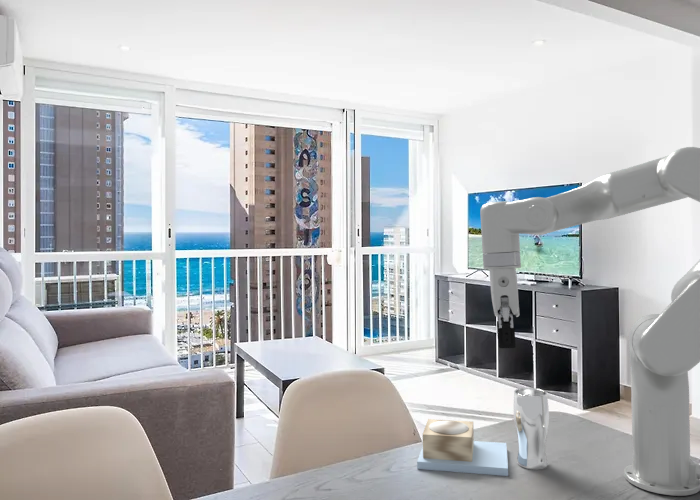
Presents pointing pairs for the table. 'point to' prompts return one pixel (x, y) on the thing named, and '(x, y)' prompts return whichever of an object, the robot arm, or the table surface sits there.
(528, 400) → the beer glass
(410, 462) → the table surface
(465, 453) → the plinth
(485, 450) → the blueprint board
